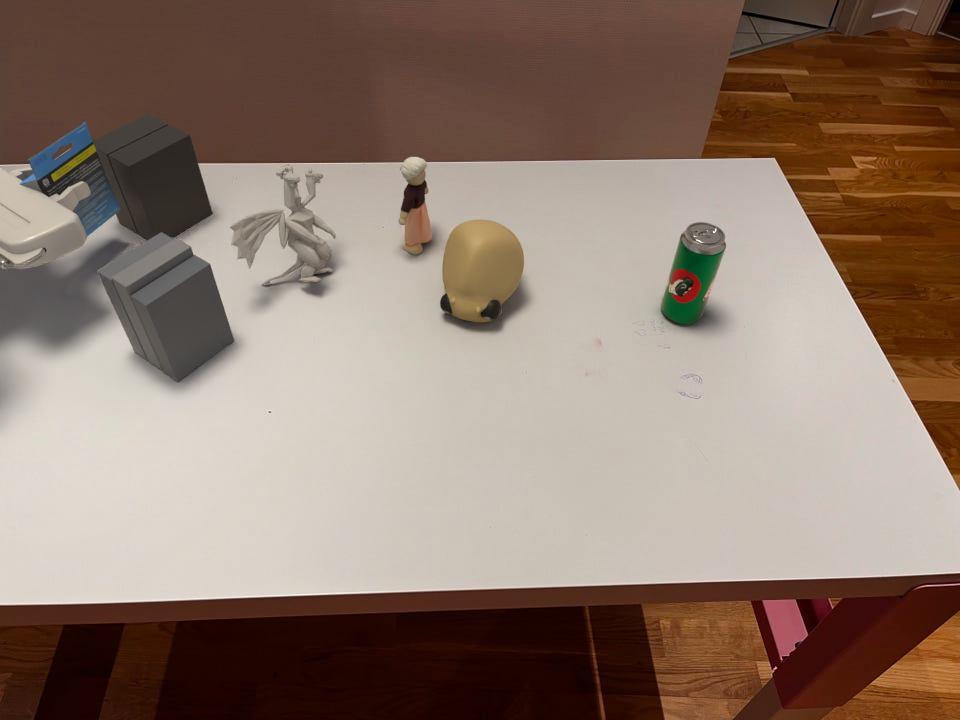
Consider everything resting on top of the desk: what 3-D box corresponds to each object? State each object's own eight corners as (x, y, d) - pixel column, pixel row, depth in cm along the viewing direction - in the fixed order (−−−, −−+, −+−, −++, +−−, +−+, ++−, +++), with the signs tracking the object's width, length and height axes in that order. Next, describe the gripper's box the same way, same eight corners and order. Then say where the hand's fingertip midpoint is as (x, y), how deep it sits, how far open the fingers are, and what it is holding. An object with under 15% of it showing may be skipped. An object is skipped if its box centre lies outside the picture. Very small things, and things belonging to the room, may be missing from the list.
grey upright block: (134, 351, 84) (94, 266, 74) (190, 312, 88) (160, 228, 79) (178, 382, 81) (142, 298, 72) (234, 340, 85) (207, 256, 76)
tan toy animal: (443, 311, 95) (415, 310, 84) (463, 218, 93) (437, 206, 83) (516, 328, 92) (497, 330, 82) (538, 233, 91) (521, 223, 81)
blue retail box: (97, 203, 94) (60, 113, 85) (122, 210, 93) (87, 120, 84) (45, 243, 88) (-1, 152, 79) (71, 251, 87) (27, 160, 78)
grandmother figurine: (426, 261, 96) (423, 177, 86) (397, 257, 96) (391, 173, 87) (437, 225, 101) (436, 142, 91) (410, 222, 101) (405, 139, 92)
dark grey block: (119, 222, 99) (86, 143, 90) (173, 191, 104) (147, 113, 95) (158, 246, 96) (128, 166, 87) (213, 213, 101) (189, 134, 92)
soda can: (705, 327, 89) (733, 248, 80) (663, 326, 89) (687, 247, 80) (697, 298, 92) (723, 220, 83) (656, 297, 92) (678, 219, 83)
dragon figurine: (232, 305, 85) (197, 185, 80) (296, 261, 101) (270, 159, 96) (310, 298, 83) (279, 174, 78) (363, 254, 99) (340, 149, 94)
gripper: (-6, 249, 72) (116, 185, 80) (-111, 176, 80) (10, 124, 88) (22, 297, 77) (135, 232, 85) (-80, 223, 85) (32, 170, 92)
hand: (70, 177), depth 86 cm, fingers closed on blue retail box, 4 cm apart
